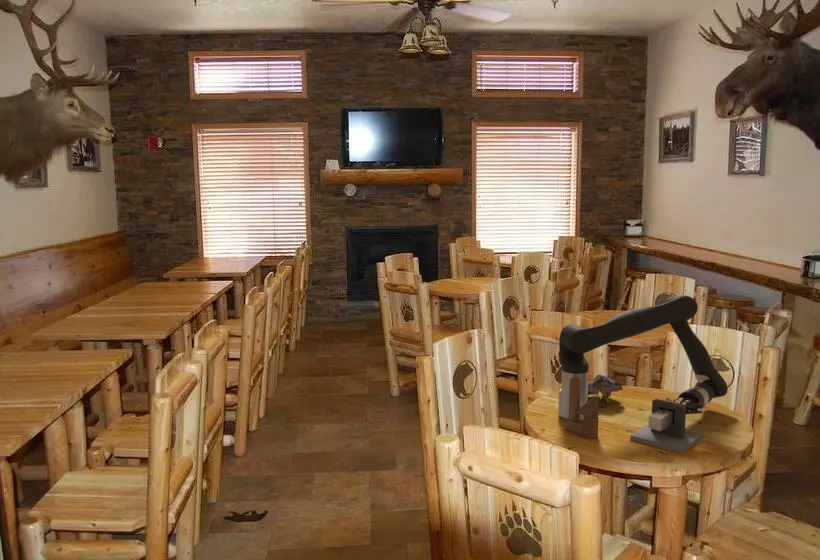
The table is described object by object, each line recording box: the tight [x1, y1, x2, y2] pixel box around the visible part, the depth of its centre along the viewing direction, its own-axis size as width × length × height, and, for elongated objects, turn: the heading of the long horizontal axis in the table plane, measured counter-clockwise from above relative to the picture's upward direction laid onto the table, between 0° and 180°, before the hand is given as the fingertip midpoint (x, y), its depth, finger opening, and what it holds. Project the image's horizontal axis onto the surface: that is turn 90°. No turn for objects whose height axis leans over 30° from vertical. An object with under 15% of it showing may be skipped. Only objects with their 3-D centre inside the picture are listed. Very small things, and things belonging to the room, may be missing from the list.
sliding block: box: [647, 399, 684, 431], centre depth 219 cm, size 7×14×7 cm, turn 136°
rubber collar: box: [651, 398, 687, 439], centre depth 221 cm, size 10×3×10 cm, turn 46°
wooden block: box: [565, 378, 600, 440], centre depth 226 cm, size 4×11×18 cm, turn 37°
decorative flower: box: [588, 374, 623, 406], centre depth 259 cm, size 15×12×15 cm
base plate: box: [629, 424, 705, 454], centre depth 222 cm, size 17×17×2 cm
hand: (672, 412), depth 224 cm, fingers closed
